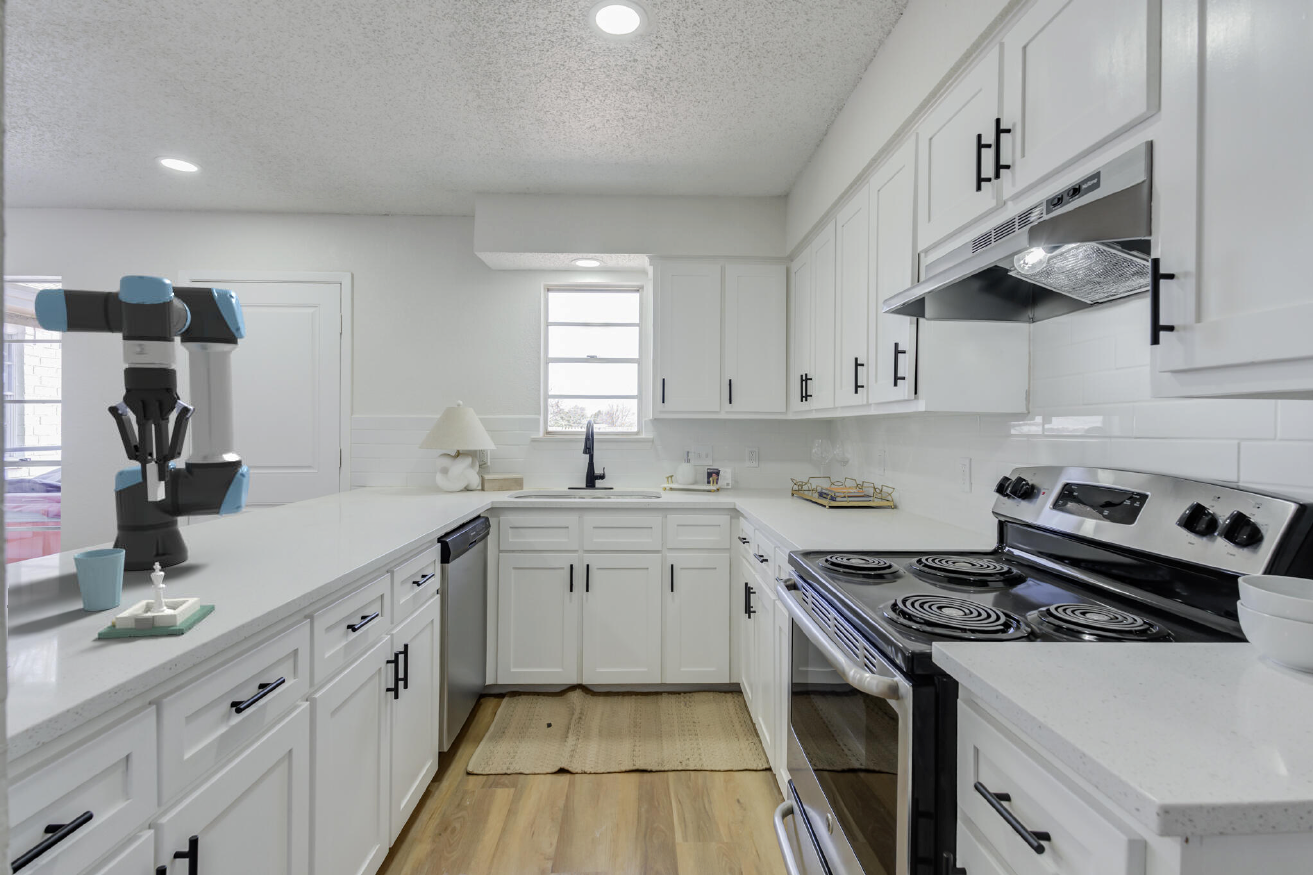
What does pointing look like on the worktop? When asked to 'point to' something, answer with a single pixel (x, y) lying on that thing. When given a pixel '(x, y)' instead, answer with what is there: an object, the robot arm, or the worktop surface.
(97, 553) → the cup
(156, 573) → the chess piece
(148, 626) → the header board
